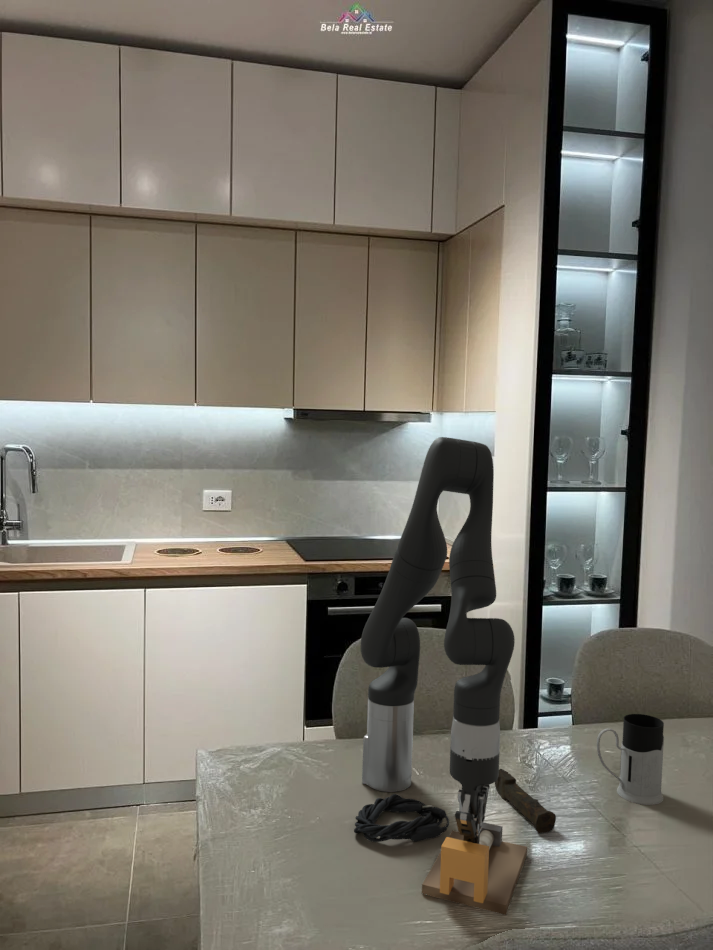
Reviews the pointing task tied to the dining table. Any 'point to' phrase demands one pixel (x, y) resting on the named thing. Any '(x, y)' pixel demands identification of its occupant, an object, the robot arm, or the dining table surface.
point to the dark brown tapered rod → (524, 802)
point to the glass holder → (639, 759)
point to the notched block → (464, 866)
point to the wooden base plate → (501, 873)
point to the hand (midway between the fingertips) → (470, 855)
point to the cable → (400, 829)
